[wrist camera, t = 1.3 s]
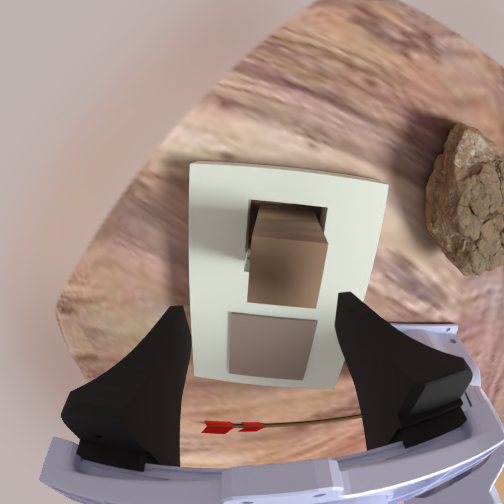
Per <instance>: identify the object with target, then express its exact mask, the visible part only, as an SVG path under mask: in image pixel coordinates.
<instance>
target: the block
mask: <svg viewBox="0 0 504 504" xmlns="http://www.w3.org/2000/svg"><path fill="white" fill-rule="evenodd" d="M327 249H328V242H327V239H326V237H325V235H324V233H323V231H322V229H321V226H320V224H319V222H318V220H317V218H316V216H315V214H314V211H313V209H312V208H305V207H296V206H287V205H277V204H266V203H261V204H260V208H259V211H258V215H257V219H256V223H255V226H254V230H253V234H252V241H251V254H250V267H249V280H248V294H247V302H248V303H258V304H268V305H278V306H289V307H301V308H313V309H316V306H317V302H318V297H319V292H320V287H321V282H322V277H323V271H324V266H325V260H326V255H327Z"/></svg>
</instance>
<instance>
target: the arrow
mask: <svg viewBox="0 0 504 504" xmlns="http://www.w3.org/2000/svg"><path fill="white" fill-rule="evenodd" d="M356 418H362V415H356V416H350V417H343V418H336V419H328V420H319V421H309V422H298V423H284V424H263V423H259V422H241V423H243V424H244V425H234V424H232V423H231V422H219V421H205V422H206V424H207V427H206V428H205V429H204V430H203V431H202V432H201V433H214V434H226V433H227V432H229V431H230V430H232V429H233V428H243V429H241V430H240V431H238V432H252V431H258V430H260V429H263V428H268V427H288V426H301V425H312V424H321V423H329V422H337V421H344V420H350V419H356Z"/></svg>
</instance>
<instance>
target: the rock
mask: <svg viewBox="0 0 504 504" xmlns="http://www.w3.org/2000/svg"><path fill="white" fill-rule="evenodd" d="M443 151H444V152H443V154H439V155H438V156H437V158H436V160H435V162H434V164H433V166H434V168H433V172H432V173H431V175H430V179H429V181H428V183H427V185H426V190H425V191H426V199H425V205H426V210H425V216H426V218H427V223H426V228H427V230H428V232H429V233H430V235H431V236H432V237H433V238H434V239H435V240H436V241H437V243H438V244H439V246H440V248H441V250H442V251H443V253H444V254H445V255H446V257H447V258H448V259H449V260H450V261H451V262H452V263H453V264H454V265H455V266H456V267H457V268H458V269H459V270H460V271H461V273H462V274H463V275H465V276H469V275H471V276H474V275H480V274H481V273H482V272H484V271H485V270H487V271H491V270H493V269H495V268H497V267H499V266H501V265H503V264H504V153H503V152H502V151H501V150H500V149H499V147H498V146H497V145H496V144H495V143H494V142H492V141H491V140H489V139H487V138H486V137H485V136H484V135H483V134H482V133H481V132H480V131H479V130H478V129H475V128H473V127H469V126H466V125H464V124H463V123H457V124H455V125H454V129H453V130H450V133H449V135H448V138H447V140H446V141H445V142H444V145H443Z"/></svg>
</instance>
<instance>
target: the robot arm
mask: <svg viewBox="0 0 504 504" xmlns="http://www.w3.org/2000/svg"><path fill="white" fill-rule="evenodd" d="M334 326H335V331H336V335H337V339H338V343H339V345H340V348H341V351H342V353H343V356H344V358H345V361H346V363H347V366H348V368H349V371H350V374H351V376H352V379H353V382H354V385H355V388H356V392H357V396H358V401H359V405H360V410H361V415H362V420H363V426H364V432H365V438H366V447H367V451H364V452H360V453H356V454H351V455H347V456H342V457H337V458H332V459H328V458H321V459H310V460H303V461H296V462H287V463H277V464H265V465H247V466H238V467H232V468H229V469H214V468H188V467H180V415H181V401H182V394H183V389H184V384H185V379H186V374H187V369H188V364H189V359H190V352H191V338H192V337H191V334H190V330H189V327H188V323H187V319H186V315H185V312H184V308H183V306H170V307H169V309H168V310H167V311H166V312H165V313H164V315H163V316H162V317H161V318H160V320H159V321H158V322H157V323H156V325H155V326H154V327H153V328H152V329H151V331H150V332H149V333H148V334H147V335H146V337H145V338H144V339H143V340H142V341H141V342H140V343H139V344H138V345H137V346H136V347H135V348H134V349H133V350H132V351H131V352H130V353H129V354H128V355H127V356H126V357H125V358H123V359H122V360H121V361H120V362H119V363H117V364H116V365H115V366H113V367H112V368H111V369H109V370H108V371H107V372H105V373H104V374H102V375H101V376H99V377H97V378H96V379H94V380H92V381H91V382H89V383H87V384H85V385H83V386H81V387H79V388H77V389H75V390H73V391H71V392H70V394H69V396H68V398H67V401H66V403H65V405H64V408H63V410H62V413H61V418H62V420H63V422H64V423H65V424H66V426H67V427H68V428H69V429H70V430H71V431H72V432H73V433H74V434H75V435H76V436H77V437H78V438H79V439H80V442H79V445H78V444H76V443H74V442H71V441H68V440H64V439H61V438H58V437H53V438H52V441H51V444H50V447H49V450H48V453H47V456H46V459H45V462H44V465H43V468H42V472H41V475H40V481H41V482H43V483H44V484H46V485H48V486H49V487H51V488H52V489H54V490H56V491H57V492H59V493H61V494H63V495H64V496H66V497H68V498H70V499H72V500H74V501H77V502H80V503H83V504H397V503H400V502H402V501H404V502H405V504H502V502H501V500H500V497H499V495H498V493H497V490H496V488H495V486H494V483H495V481H496V480H497V478H498V476H499V474H500V472H501V471H502V469H503V467H504V427H503V425H502V423H501V421H500V419H499V417H498V415H497V413H496V411H495V409H494V407H493V406H492V404H491V402H490V401H489V399H488V397H487V396H486V394H485V393H484V391H483V390H482V389H481V387H480V386H481V378H480V372H479V369H478V366H477V365H476V363H475V361H474V360H473V358H472V357H471V355H470V354H469V352H468V351H467V349H466V348H465V346H464V345H463V344H462V342H461V341H460V339H459V338H458V336H457V335H456V332H457V330H458V326H457V324H394V323H390V324H389V323H388V322H387V321H385V320H384V319H383V318H381V317H380V316H379V315H378V314H376V313H375V312H374V311H373V310H372V309H370V308H369V307H368V306H367V305H366V304H365V303H363V302H362V301H361V300H360V299H359V298H358V297H357V296H355V295H354V294H353V293H352V292H351V291H349V292H341V293H338V300H337V308H336V316H335V324H334ZM447 328H448V329H447Z"/></svg>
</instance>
